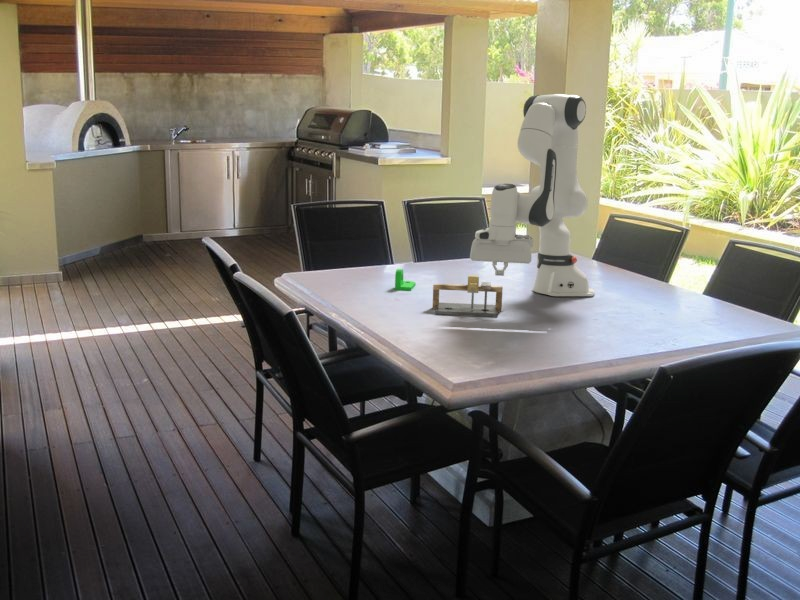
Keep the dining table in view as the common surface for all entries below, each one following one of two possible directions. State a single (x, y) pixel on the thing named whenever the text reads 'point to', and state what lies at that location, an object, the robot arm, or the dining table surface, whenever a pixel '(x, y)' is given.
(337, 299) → the dining table surface
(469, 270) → the dining table surface
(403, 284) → the mechanical part
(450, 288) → the wooden frame rack
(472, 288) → the slider leg
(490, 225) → the robot arm
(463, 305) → the bolt plate
